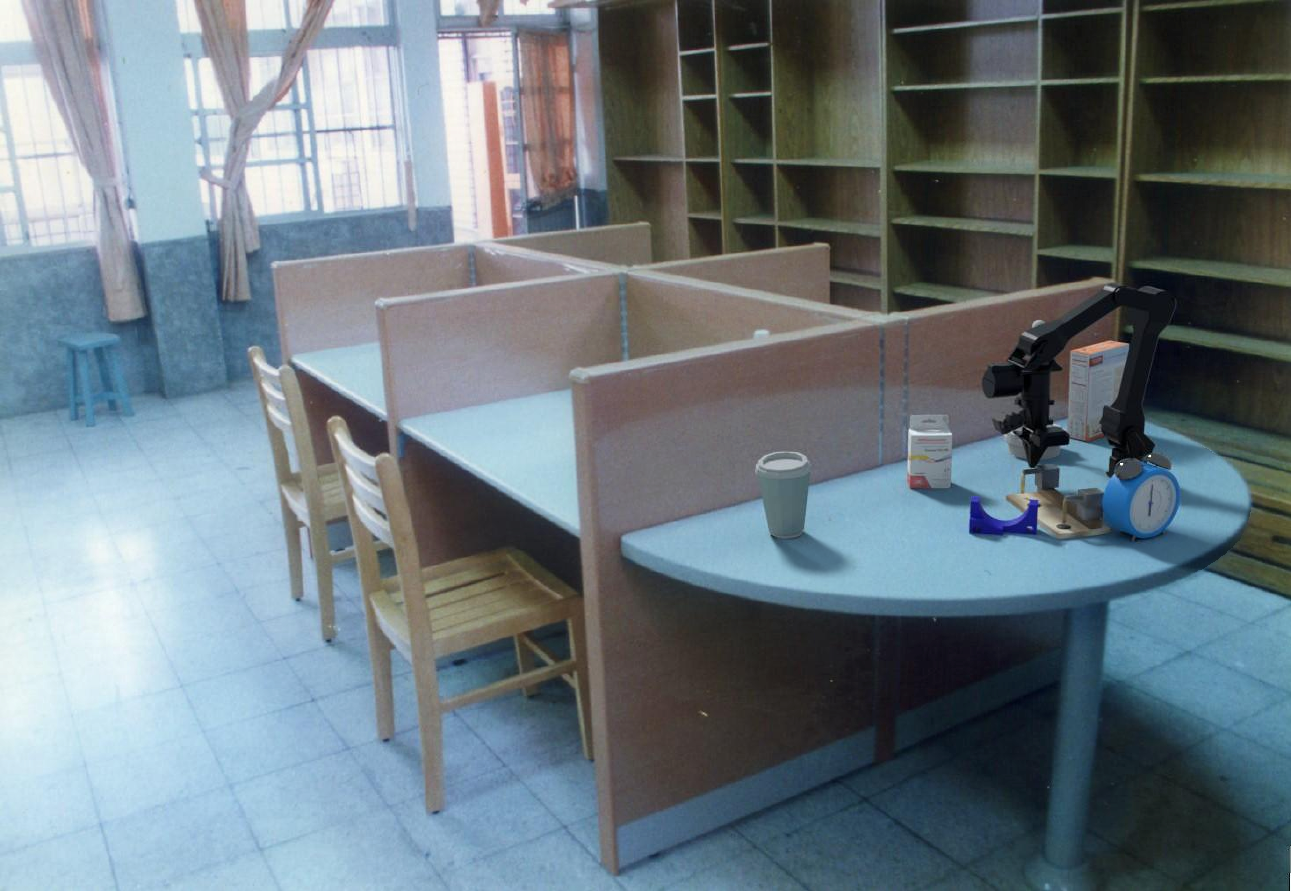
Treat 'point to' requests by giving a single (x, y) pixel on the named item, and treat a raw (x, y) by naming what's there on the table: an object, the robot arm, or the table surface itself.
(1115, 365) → the cracker box
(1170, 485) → the alarm clock
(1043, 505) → the hole plate
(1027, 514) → the blue cradle bracket
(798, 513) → the disposable coffee cup
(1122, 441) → the robot arm
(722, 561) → the table surface
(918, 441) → the ink cartridge box
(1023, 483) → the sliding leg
